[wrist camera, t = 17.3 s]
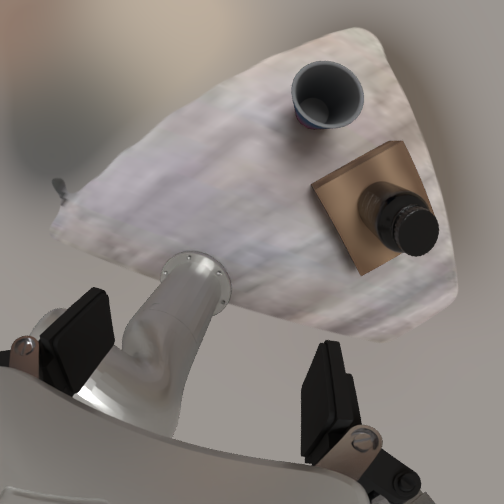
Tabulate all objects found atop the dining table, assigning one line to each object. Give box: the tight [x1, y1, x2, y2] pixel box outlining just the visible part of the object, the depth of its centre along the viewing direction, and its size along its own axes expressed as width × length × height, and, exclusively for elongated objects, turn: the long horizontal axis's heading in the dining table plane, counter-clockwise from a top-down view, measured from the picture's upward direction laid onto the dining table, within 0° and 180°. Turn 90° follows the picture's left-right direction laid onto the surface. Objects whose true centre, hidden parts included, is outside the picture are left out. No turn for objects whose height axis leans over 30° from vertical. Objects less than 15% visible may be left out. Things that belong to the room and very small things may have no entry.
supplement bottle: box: [358, 181, 439, 257], centre depth 28 cm, size 7×7×12 cm
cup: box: [291, 61, 364, 129], centre depth 28 cm, size 7×7×15 cm
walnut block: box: [311, 141, 435, 276], centre depth 37 cm, size 14×14×6 cm
